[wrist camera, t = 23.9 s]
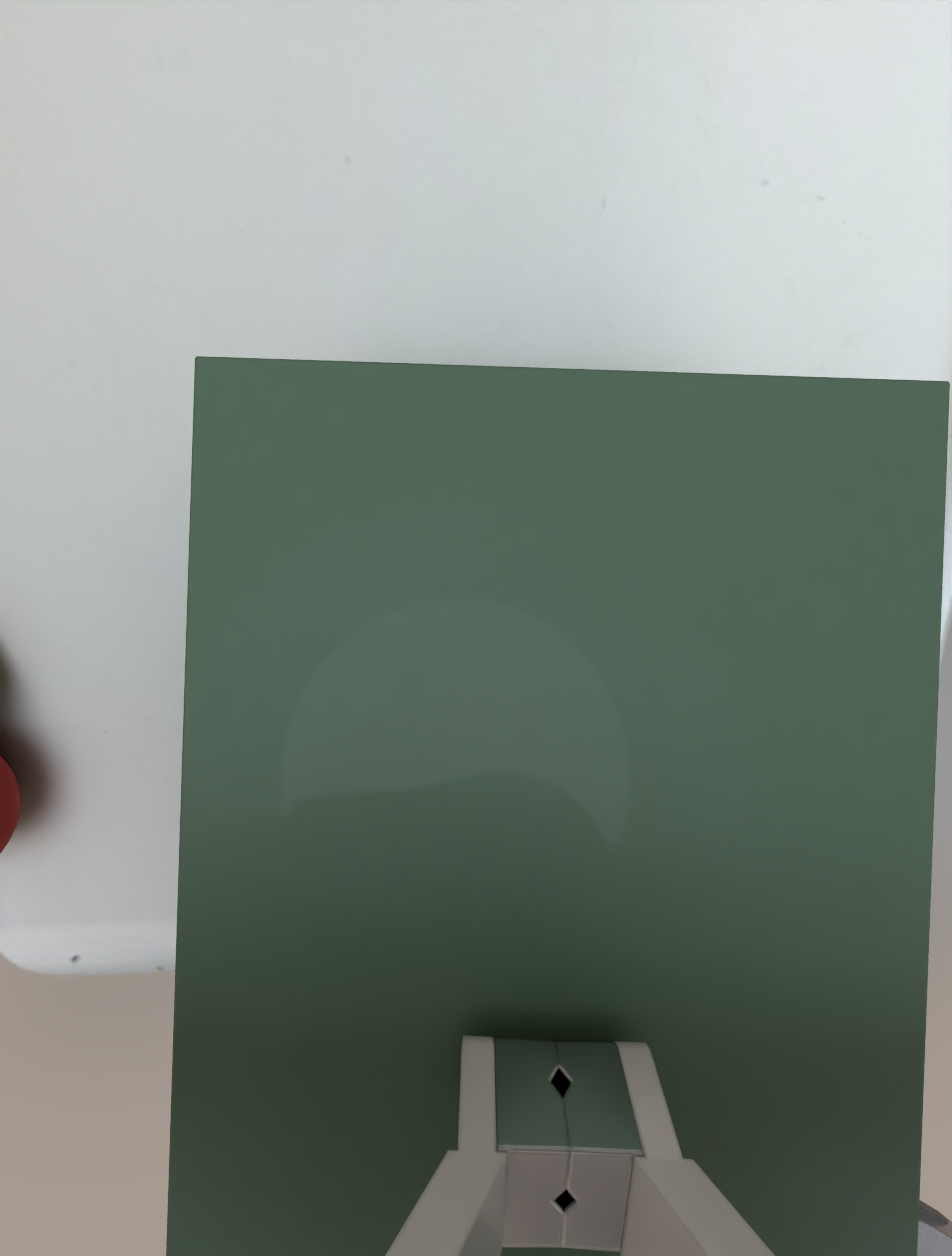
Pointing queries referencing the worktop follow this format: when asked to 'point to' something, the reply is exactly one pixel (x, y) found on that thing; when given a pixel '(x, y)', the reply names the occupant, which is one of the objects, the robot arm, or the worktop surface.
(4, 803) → the kendama
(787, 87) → the worktop surface
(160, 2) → the worktop surface
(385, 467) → the chest lid
